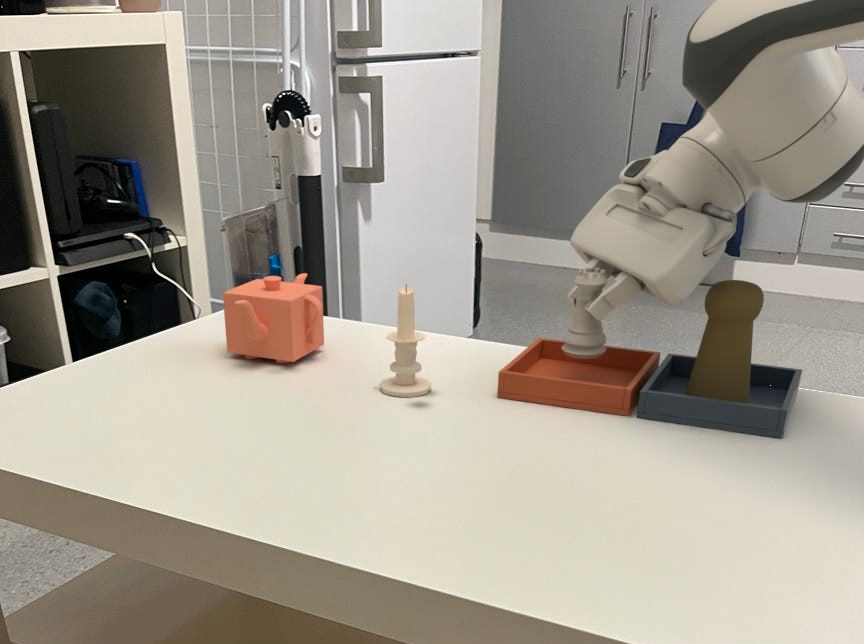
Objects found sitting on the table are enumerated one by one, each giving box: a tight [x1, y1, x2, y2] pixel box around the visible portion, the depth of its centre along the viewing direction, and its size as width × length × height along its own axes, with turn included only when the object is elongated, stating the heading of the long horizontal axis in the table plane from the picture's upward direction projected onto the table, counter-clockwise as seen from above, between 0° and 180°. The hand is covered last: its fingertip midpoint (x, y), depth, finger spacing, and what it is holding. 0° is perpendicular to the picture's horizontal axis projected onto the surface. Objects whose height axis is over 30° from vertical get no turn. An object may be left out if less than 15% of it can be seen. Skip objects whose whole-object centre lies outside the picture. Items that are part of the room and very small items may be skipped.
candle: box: [379, 283, 432, 398], centre depth 101 cm, size 5×5×10 cm
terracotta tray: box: [497, 337, 661, 417], centre depth 103 cm, size 13×13×3 cm
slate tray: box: [636, 353, 803, 439], centre depth 98 cm, size 13×13×3 cm
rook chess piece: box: [562, 267, 608, 359], centre depth 100 cm, size 4×4×8 cm
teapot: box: [222, 272, 325, 364], centre depth 112 cm, size 12×15×8 cm
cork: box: [685, 279, 765, 404], centre depth 96 cm, size 6×6×11 cm
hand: (582, 309), depth 100 cm, fingers closed on rook chess piece, 3 cm apart
